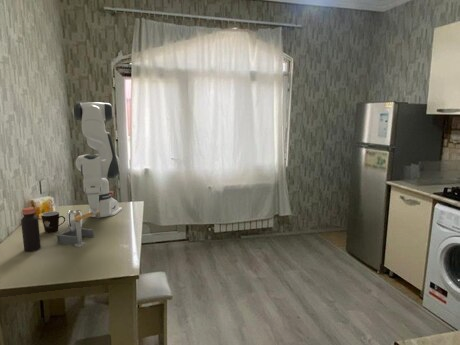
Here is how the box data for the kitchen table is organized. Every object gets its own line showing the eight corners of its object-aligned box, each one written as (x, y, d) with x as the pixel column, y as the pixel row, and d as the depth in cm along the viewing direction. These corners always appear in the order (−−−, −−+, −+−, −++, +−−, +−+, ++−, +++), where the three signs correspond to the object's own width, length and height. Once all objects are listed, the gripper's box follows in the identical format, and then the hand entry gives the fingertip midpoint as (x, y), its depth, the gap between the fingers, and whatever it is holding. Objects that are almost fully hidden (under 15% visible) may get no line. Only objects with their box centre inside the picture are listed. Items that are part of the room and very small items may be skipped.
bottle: (20, 250, 149) (16, 209, 145) (34, 245, 155) (30, 205, 151) (30, 253, 146) (26, 211, 143) (44, 247, 152) (40, 207, 149)
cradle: (74, 234, 169) (72, 212, 167) (97, 237, 166) (96, 214, 164) (55, 243, 157) (53, 219, 154) (80, 246, 154) (78, 222, 151)
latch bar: (78, 226, 152) (77, 218, 151) (73, 225, 153) (73, 217, 152) (101, 217, 166) (100, 210, 165) (97, 216, 167) (96, 209, 166)
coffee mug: (39, 232, 172) (37, 214, 171) (54, 227, 180) (52, 210, 178) (52, 236, 167) (51, 217, 165) (67, 231, 174) (66, 213, 173)
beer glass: (65, 241, 159) (63, 213, 157) (74, 236, 166) (72, 209, 164) (78, 242, 158) (76, 213, 156) (86, 237, 165) (84, 209, 163)
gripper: (86, 184, 167) (88, 209, 169) (85, 191, 148) (87, 219, 150) (99, 183, 169) (101, 208, 171) (100, 190, 151) (101, 218, 153)
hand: (94, 214), depth 161 cm, fingers closed
